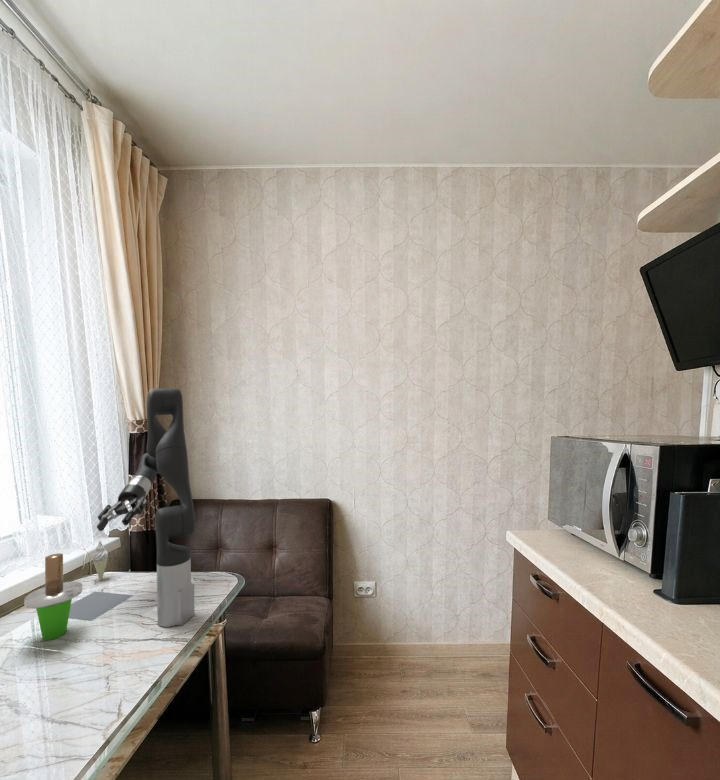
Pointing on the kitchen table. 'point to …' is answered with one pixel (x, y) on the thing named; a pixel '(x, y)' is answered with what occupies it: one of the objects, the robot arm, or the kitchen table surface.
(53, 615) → the cup
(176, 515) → the robot arm
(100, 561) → the ice cream cone
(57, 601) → the lid
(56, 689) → the kitchen table surface
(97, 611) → the mat
